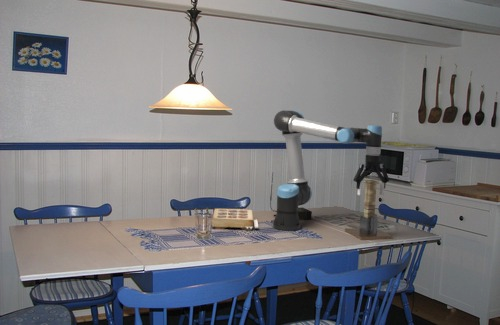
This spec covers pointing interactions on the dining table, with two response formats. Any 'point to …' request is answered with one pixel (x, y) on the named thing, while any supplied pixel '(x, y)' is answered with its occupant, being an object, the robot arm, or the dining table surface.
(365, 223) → the stand
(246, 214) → the beige slotted box
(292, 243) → the dining table surface
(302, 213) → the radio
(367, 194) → the column
